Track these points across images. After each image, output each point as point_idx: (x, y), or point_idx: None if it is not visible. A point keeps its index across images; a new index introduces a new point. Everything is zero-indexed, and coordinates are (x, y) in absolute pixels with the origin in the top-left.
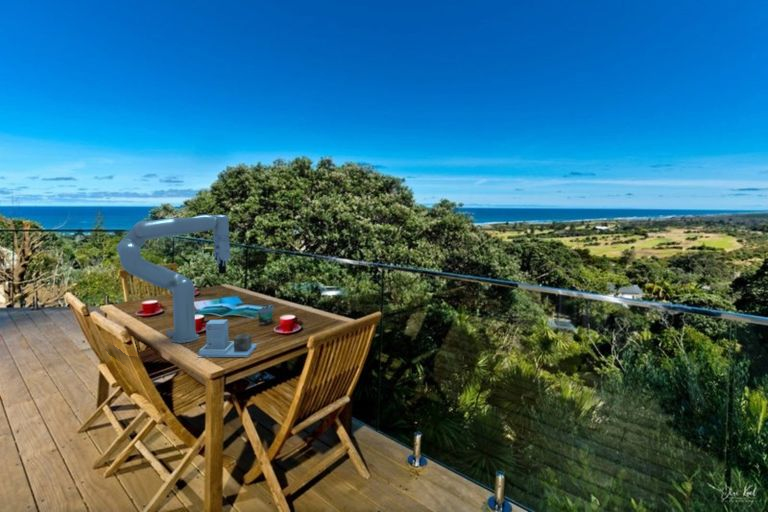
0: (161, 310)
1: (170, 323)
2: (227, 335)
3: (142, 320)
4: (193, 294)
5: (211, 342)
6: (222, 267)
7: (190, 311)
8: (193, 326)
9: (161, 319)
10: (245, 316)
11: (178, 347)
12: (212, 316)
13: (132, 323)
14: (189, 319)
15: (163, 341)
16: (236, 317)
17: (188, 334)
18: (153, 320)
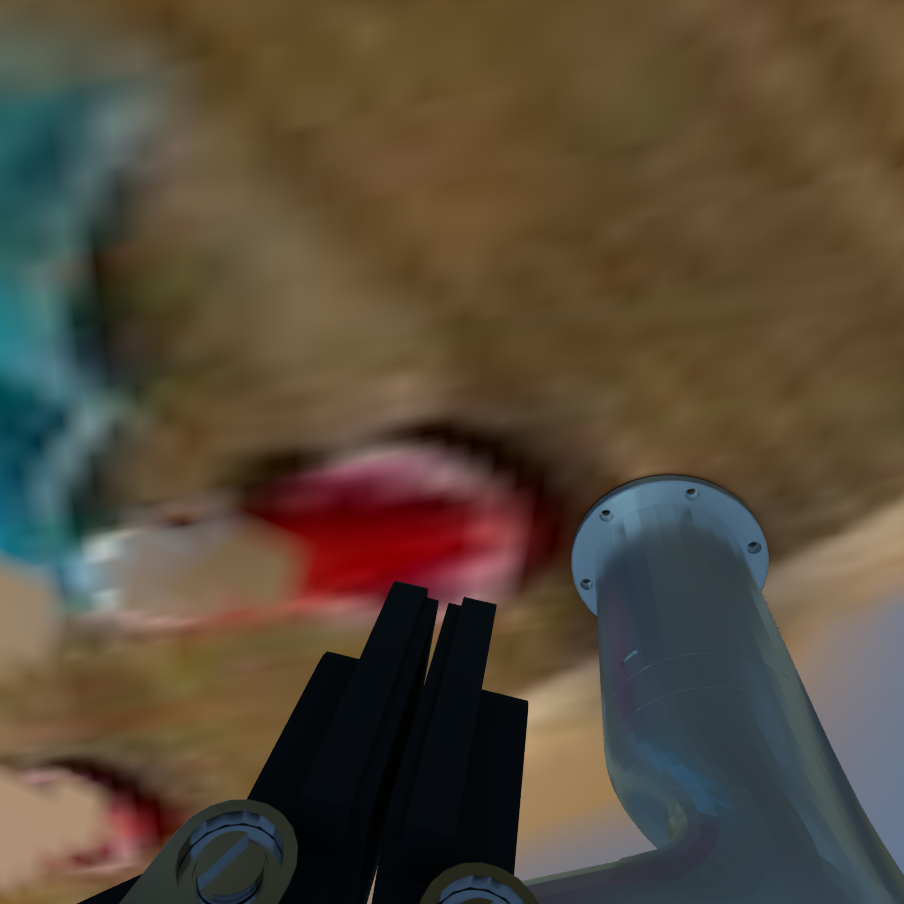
0: (36, 777)
1: (295, 695)
2: None
3: None
4: (813, 804)
5: None
6: (510, 853)
7: (784, 668)
8: (717, 555)
9: (213, 750)
10: (92, 199)
11: (847, 567)
12: (123, 475)
13: None
14: (771, 623)
15: None
16: (130, 279)
17: (743, 555)
18: (235, 782)
